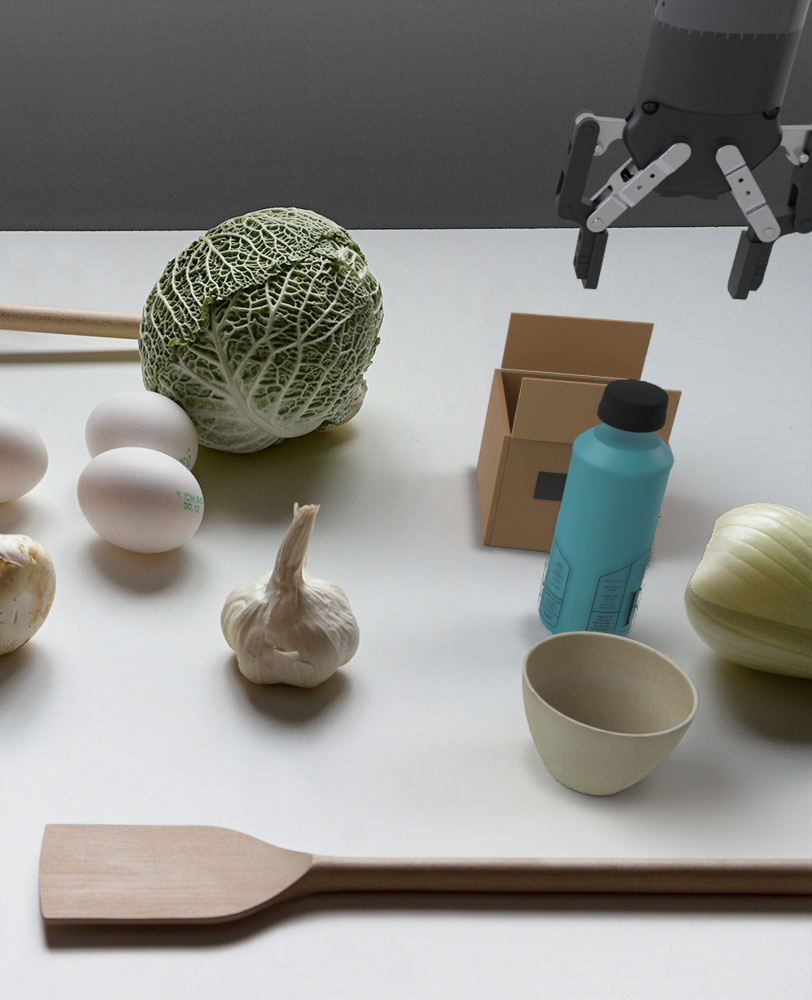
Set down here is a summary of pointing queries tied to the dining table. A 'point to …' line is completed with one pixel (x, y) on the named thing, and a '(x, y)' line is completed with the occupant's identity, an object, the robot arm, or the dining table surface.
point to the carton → (549, 417)
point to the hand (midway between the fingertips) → (661, 289)
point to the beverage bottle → (608, 514)
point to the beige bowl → (604, 708)
